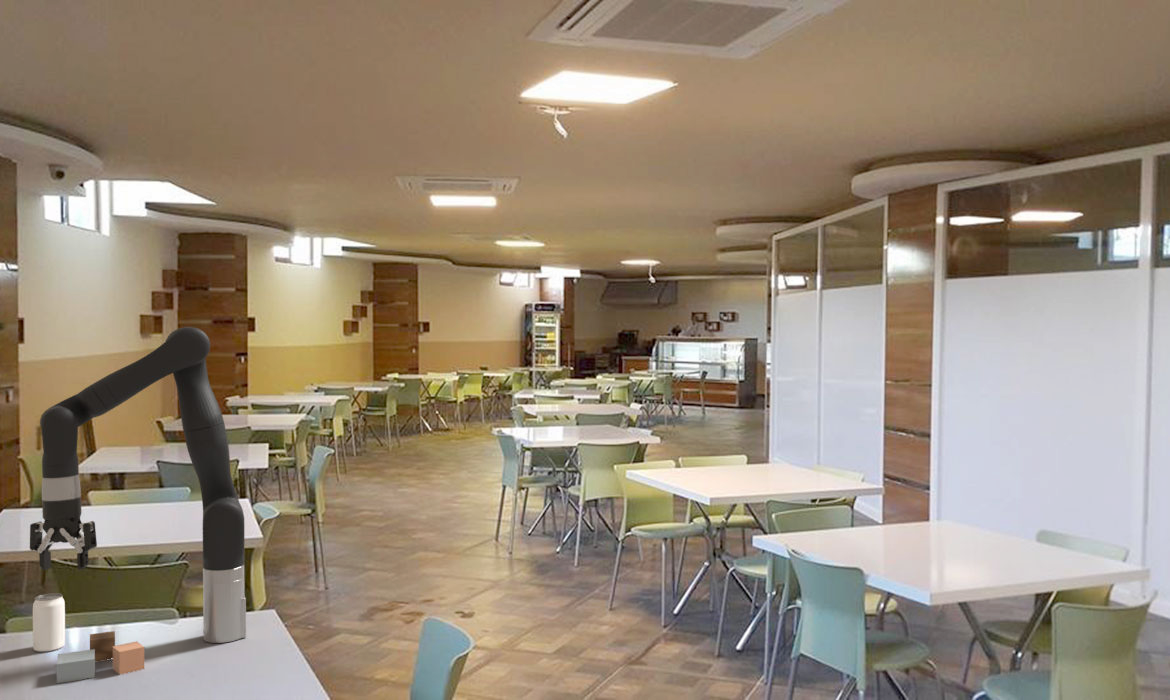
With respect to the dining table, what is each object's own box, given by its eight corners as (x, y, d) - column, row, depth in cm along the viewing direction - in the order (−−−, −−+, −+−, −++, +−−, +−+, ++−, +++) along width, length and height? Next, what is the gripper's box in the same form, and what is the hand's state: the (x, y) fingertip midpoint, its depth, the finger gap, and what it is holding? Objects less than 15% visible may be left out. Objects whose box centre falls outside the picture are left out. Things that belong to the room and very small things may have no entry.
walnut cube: (114, 652, 213) (114, 631, 213) (115, 659, 209) (114, 637, 209) (90, 656, 211) (89, 634, 211) (89, 663, 207) (89, 640, 207)
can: (50, 653, 213) (50, 601, 213) (26, 651, 214) (25, 599, 214) (71, 644, 219) (71, 593, 219) (47, 642, 220) (47, 592, 220)
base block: (94, 667, 204) (94, 649, 204) (94, 677, 197) (94, 658, 197) (58, 672, 200) (58, 654, 200) (56, 683, 194) (56, 664, 194)
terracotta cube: (137, 663, 206) (136, 641, 206) (144, 669, 202) (144, 646, 202) (112, 669, 203) (112, 646, 203) (119, 675, 199) (119, 652, 199)
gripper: (102, 493, 209) (104, 564, 210) (43, 493, 211) (45, 564, 211) (80, 499, 202) (83, 573, 202) (19, 499, 203) (22, 573, 204)
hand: (64, 569), depth 207 cm, fingers open, 8 cm apart
